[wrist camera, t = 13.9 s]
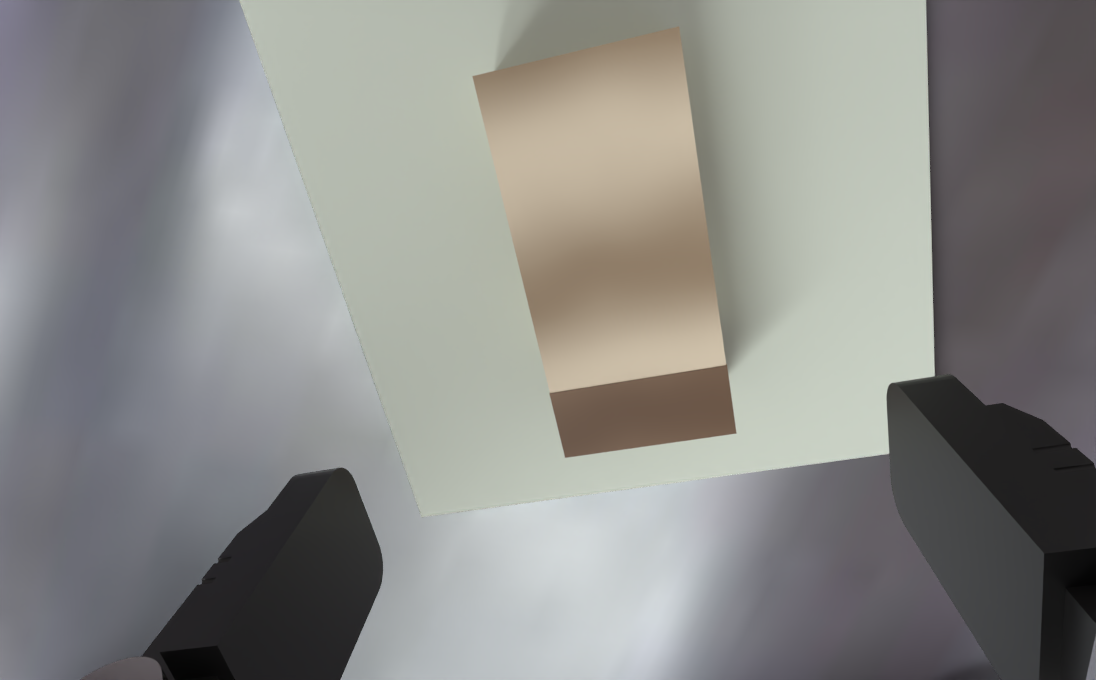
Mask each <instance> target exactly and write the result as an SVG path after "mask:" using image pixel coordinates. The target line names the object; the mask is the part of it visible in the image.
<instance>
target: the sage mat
mask: <svg viewBox="0 0 1096 680" xmlns="http://www.w3.org/2000/svg"><path fill="white" fill-rule="evenodd" d="M239 1H240V4H241V7H242V9H243V12H244V15H245V18H246V21H247V24H248V26H249V29H250V32H251V35H252V38H253V41H254V43H255V46H256V49H257V52H258V55H259V58H260V60H261V63H262V66H263V69H264V72H265V75H266V77H267V80H268V83H269V86H270V89H271V92H272V94H273V97H274V100H275V103H276V106H277V109H278V111H279V114H280V117H281V120H282V123H283V126H284V128H285V131H286V134H287V137H288V140H289V143H290V145H291V148H292V151H293V154H294V157H295V160H296V162H297V165H298V168H299V171H300V174H301V177H302V179H303V182H304V185H305V188H306V191H307V194H308V196H309V199H310V202H311V205H312V208H313V211H314V213H315V216H316V219H317V222H318V225H319V228H320V231H321V233H322V236H323V239H324V242H325V245H326V248H327V250H328V253H329V256H330V259H331V262H332V265H333V267H334V270H335V273H336V276H337V279H338V282H339V284H340V287H341V290H342V293H343V296H344V299H345V301H346V304H347V307H348V310H349V313H350V316H351V318H352V321H353V324H354V327H355V330H356V333H357V335H358V338H359V341H360V344H361V347H362V350H363V352H364V355H365V358H366V361H367V364H368V367H369V369H370V372H371V375H372V378H373V381H374V384H375V386H376V389H377V392H378V395H379V398H380V401H381V403H382V406H383V409H384V412H385V415H386V418H387V420H388V423H389V426H390V429H391V432H392V435H393V437H394V440H395V443H396V446H397V449H398V452H399V454H400V457H401V460H402V463H403V466H404V469H405V472H406V474H407V477H408V480H409V483H410V486H411V489H412V491H413V494H414V497H415V500H416V503H417V506H418V508H419V511H420V514H421V517H427V516H435V515H442V514H450V513H457V512H464V511H472V510H479V509H486V508H494V507H501V506H508V505H516V504H523V503H530V502H538V501H545V500H552V499H560V498H567V497H574V496H582V495H589V494H597V493H604V492H611V491H619V490H626V489H633V488H641V487H648V486H655V485H663V484H670V483H677V482H685V481H692V480H699V479H707V478H714V477H721V476H729V475H736V474H744V473H751V472H758V471H766V470H773V469H780V468H788V467H795V466H802V465H810V464H817V463H824V462H832V461H839V460H846V459H854V458H861V457H868V456H876V455H883V454H889V439H888V420H887V401H886V397H887V389H888V386H889V385H890V384H891V383H894V382H901V381H907V380H914V379H920V378H926V377H933V376H935V368H934V325H933V282H932V239H931V197H930V154H929V111H928V68H927V25H926V0H239ZM678 26H679V29H680V36H681V43H682V50H683V58H684V65H685V72H686V79H687V86H688V93H689V101H690V108H691V115H692V122H693V129H694V136H695V144H696V151H697V158H698V165H699V172H700V180H701V187H702V194H703V201H704V208H705V215H706V223H707V230H708V237H709V244H710V251H711V258H712V266H713V273H714V280H715V287H716V294H717V302H718V309H719V316H720V323H721V330H722V337H723V345H724V352H725V359H726V364H727V368H728V375H729V382H730V390H731V397H732V404H733V411H734V418H735V426H736V433H737V434H730V435H723V436H716V437H709V438H702V439H695V440H688V441H681V442H674V443H667V444H660V445H653V446H646V447H639V448H632V449H624V450H617V451H610V452H603V453H596V454H589V455H582V456H575V457H568V458H565V455H564V451H563V447H562V443H561V439H560V435H559V431H558V427H557V423H556V419H555V415H554V411H553V406H552V402H551V398H550V394H549V393H550V391H549V387H548V383H547V379H546V375H545V371H544V367H543V363H542V359H541V354H540V350H539V346H538V342H537V338H536V334H535V330H534V326H533V322H532V318H531V314H530V310H529V306H528V301H527V297H526V293H525V289H524V285H523V281H522V277H521V273H520V269H519V265H518V261H517V257H516V253H515V249H514V244H513V240H512V236H511V232H510V228H509V224H508V220H507V216H506V212H505V208H504V204H503V200H502V196H501V191H500V187H499V183H498V179H497V175H496V171H495V167H494V163H493V159H492V155H491V151H490V147H489V143H488V138H487V134H486V130H485V126H484V122H483V118H482V114H481V110H480V106H479V102H478V98H477V94H476V90H475V85H474V81H473V77H472V76H475V75H480V74H484V73H488V72H492V71H496V70H500V69H504V68H509V67H513V66H517V65H521V64H525V63H529V62H533V61H538V60H542V59H546V58H550V57H554V56H558V55H562V54H567V53H571V52H575V51H579V50H583V49H587V48H591V47H596V46H600V45H604V44H608V43H612V42H616V41H620V40H624V39H629V38H633V37H637V36H641V35H645V34H649V33H653V32H658V31H662V30H666V29H670V28H674V27H678Z"/></svg>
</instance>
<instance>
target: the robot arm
mask: <svg viewBox="0 0 1096 680" xmlns="http://www.w3.org/2000/svg"><path fill="white" fill-rule="evenodd" d="M886 401H887V420H888V439H889V457H890V475H891V485H892V491H893V495H894V499H895V503H896V506H897V509H898V512H899V515H900V517H901V519H902V521H903V523H904V525H905V527H906V528H907V530H908V532H909V533H910V535H911V537H912V538H913V540H914V541H915V543H916V545H917V546H918V548H919V549H920V551H921V553H922V554H923V556H924V557H925V559H926V561H927V562H928V564H929V565H930V567H931V569H932V570H933V572H934V573H935V575H936V577H937V578H938V580H939V581H940V583H941V585H942V586H943V588H944V589H945V591H946V593H947V594H948V596H949V597H950V599H951V601H952V602H953V604H954V605H955V607H956V609H957V610H958V612H959V613H960V615H961V617H962V618H963V620H964V621H965V623H966V625H967V626H968V628H969V629H970V631H971V633H972V634H973V636H974V637H975V639H976V641H977V642H978V644H979V645H980V647H981V649H982V650H983V652H984V653H985V655H986V657H987V658H988V660H989V661H990V663H991V665H992V666H993V668H994V669H995V671H996V673H997V674H998V676H999V677H1000V679H1001V680H1096V468H1095V466H1094V463H1093V462H1092V461H1091V460H1090V459H1088V458H1087V457H1086V456H1085V455H1084V454H1083V453H1081V452H1080V451H1079V450H1078V449H1077V448H1073V449H1072V447H1071V444H1070V442H1068V441H1067V440H1066V439H1065V438H1064V437H1062V436H1061V435H1060V434H1059V433H1058V432H1056V431H1055V430H1054V429H1053V428H1052V427H1051V426H1049V425H1048V424H1047V423H1046V422H1045V421H1043V420H1042V419H1039V418H1037V417H1034V416H1032V415H1030V414H1027V413H1025V412H1022V411H1020V410H1018V409H1015V408H1013V407H1011V406H1008V405H1006V404H1003V403H1000V404H994V405H987V406H986V405H984V404H983V403H982V402H981V401H980V400H979V399H978V398H977V397H976V396H975V395H974V394H973V393H972V392H971V391H969V390H968V389H967V388H966V387H965V386H964V385H963V384H962V383H961V382H960V381H959V380H958V379H957V378H955V377H954V376H953V375H950V374H946V375H939V376H933V377H926V378H920V379H914V380H907V381H901V382H894V383H891V384H890V385H889V386H888V389H887V397H886ZM382 575H383V561H382V554H381V550H380V546H379V543H378V541H377V538H376V536H375V533H374V530H373V528H372V525H371V523H370V520H369V517H368V515H367V512H366V509H365V507H364V504H363V502H362V499H361V496H360V494H359V491H358V489H357V486H356V483H355V481H354V479H353V477H352V475H351V474H350V473H349V471H347V470H346V469H344V468H335V469H329V470H323V471H316V472H310V473H303V474H298V475H295V476H294V477H292V478H291V479H290V481H289V482H288V483H287V485H286V486H285V487H284V489H283V490H282V491H281V493H280V494H279V495H278V496H277V498H276V499H275V500H274V502H273V503H272V504H271V506H270V507H269V508H268V510H267V511H265V512H264V513H263V514H262V515H260V516H259V517H258V518H257V519H255V520H254V521H253V522H252V523H250V524H249V525H248V526H247V527H245V528H244V529H243V530H242V531H240V532H239V533H238V534H237V535H236V536H235V538H234V539H233V540H232V541H231V543H230V544H229V545H228V547H227V548H226V549H225V550H224V552H223V553H222V554H221V556H220V557H219V558H218V563H215V564H213V566H212V567H211V568H210V570H209V571H208V572H207V573H206V575H205V576H204V577H203V579H202V584H201V585H197V586H196V587H195V589H194V590H193V591H192V593H191V594H190V595H189V596H188V598H187V599H186V600H185V602H184V603H183V604H182V605H181V607H180V608H179V609H178V610H177V612H176V613H175V614H174V616H173V617H172V618H171V619H170V621H169V622H168V623H167V625H166V626H165V627H164V628H163V630H162V631H161V632H160V633H159V635H158V636H157V637H156V639H155V640H154V641H153V642H152V644H151V645H150V646H149V648H148V649H147V650H146V651H145V653H144V654H143V655H142V656H141V657H131V658H126V659H122V660H119V661H116V662H113V663H111V664H108V665H106V666H103V667H101V668H99V669H97V670H95V671H93V672H92V673H90V674H88V675H86V676H85V677H83V678H82V679H80V680H340V679H341V677H342V674H343V672H344V670H345V667H346V665H347V663H348V661H349V658H350V656H351V654H352V651H353V649H354V647H355V644H356V642H357V640H358V638H359V635H360V633H361V631H362V628H363V626H364V624H365V621H366V619H367V617H368V615H369V612H370V610H371V608H372V605H373V603H374V601H375V598H376V596H377V594H378V592H379V589H380V586H381V582H382Z"/></svg>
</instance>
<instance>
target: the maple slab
mask: <svg viewBox="0 0 1096 680" xmlns="http://www.w3.org/2000/svg"><path fill="white" fill-rule="evenodd" d="M472 77H473V81H474V85H475V90H476V94H477V98H478V102H479V106H480V110H481V114H482V118H483V122H484V126H485V130H486V134H487V138H488V143H489V147H490V151H491V155H492V159H493V163H494V167H495V171H496V175H497V179H498V183H499V187H500V191H501V196H502V200H503V204H504V208H505V212H506V216H507V220H508V224H509V228H510V232H511V236H512V240H513V244H514V249H515V253H516V257H517V261H518V265H519V269H520V273H521V277H522V281H523V285H524V289H525V293H526V297H527V301H528V306H529V310H530V314H531V318H532V322H533V326H534V330H535V334H536V338H537V342H538V346H539V350H540V354H541V359H542V363H543V367H544V371H545V375H546V379H547V383H548V387H549V391H550V393H549V394H550V398H551V402H552V406H553V411H554V415H555V419H556V423H557V427H558V431H559V435H560V439H561V443H562V447H563V451H564V455H565V458H568V457H575V456H582V455H589V454H596V453H603V452H610V451H617V450H624V449H632V448H639V447H646V446H653V445H660V444H667V443H674V442H681V441H688V440H695V439H702V438H709V437H716V436H723V435H730V434H737V433H736V426H735V418H734V411H733V404H732V397H731V390H730V382H729V375H728V368H727V364H726V359H725V352H724V345H723V337H722V330H721V323H720V316H719V309H718V302H717V294H716V287H715V280H714V273H713V266H712V258H711V251H710V244H709V237H708V230H707V223H706V215H705V208H704V201H703V194H702V187H701V180H700V172H699V165H698V158H697V151H696V144H695V136H694V129H693V122H692V115H691V108H690V101H689V93H688V86H687V79H686V72H685V65H684V58H683V50H682V43H681V36H680V29H679V26H678V27H674V28H670V29H666V30H662V31H658V32H653V33H649V34H645V35H641V36H637V37H633V38H629V39H624V40H620V41H616V42H612V43H608V44H604V45H600V46H596V47H591V48H587V49H583V50H579V51H575V52H571V53H567V54H562V55H558V56H554V57H550V58H546V59H542V60H538V61H533V62H529V63H525V64H521V65H517V66H513V67H509V68H504V69H500V70H496V71H492V72H488V73H484V74H480V75H475V76H472Z"/></svg>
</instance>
